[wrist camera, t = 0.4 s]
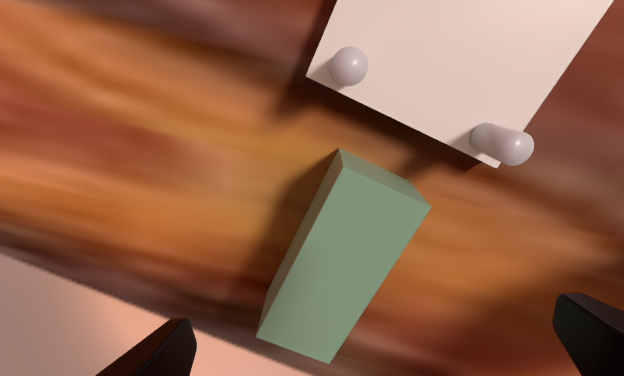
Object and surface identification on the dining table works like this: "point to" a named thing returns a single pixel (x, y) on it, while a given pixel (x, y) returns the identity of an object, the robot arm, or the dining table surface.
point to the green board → (340, 256)
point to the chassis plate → (455, 64)
